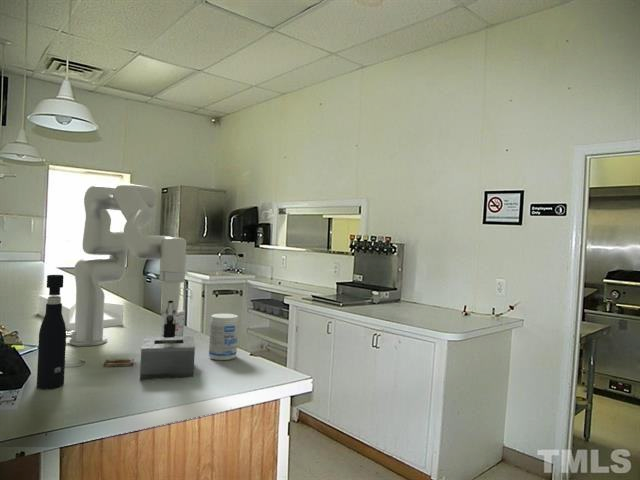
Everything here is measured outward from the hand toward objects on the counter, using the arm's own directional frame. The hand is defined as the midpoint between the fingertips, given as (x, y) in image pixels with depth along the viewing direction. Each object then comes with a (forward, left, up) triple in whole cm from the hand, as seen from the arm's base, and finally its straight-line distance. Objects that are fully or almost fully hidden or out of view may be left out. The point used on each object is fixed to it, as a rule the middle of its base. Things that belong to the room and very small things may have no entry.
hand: (169, 334), depth 139 cm
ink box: (+1, +39, -12) cm, 41 cm away
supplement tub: (+18, +13, -12) cm, 25 cm away
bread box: (-41, +85, -12) cm, 95 cm away
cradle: (-15, +9, -11) cm, 21 cm away
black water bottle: (-30, -9, -12) cm, 33 cm away
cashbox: (0, 0, -11) cm, 11 cm away
